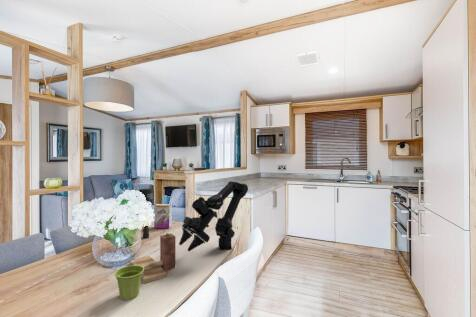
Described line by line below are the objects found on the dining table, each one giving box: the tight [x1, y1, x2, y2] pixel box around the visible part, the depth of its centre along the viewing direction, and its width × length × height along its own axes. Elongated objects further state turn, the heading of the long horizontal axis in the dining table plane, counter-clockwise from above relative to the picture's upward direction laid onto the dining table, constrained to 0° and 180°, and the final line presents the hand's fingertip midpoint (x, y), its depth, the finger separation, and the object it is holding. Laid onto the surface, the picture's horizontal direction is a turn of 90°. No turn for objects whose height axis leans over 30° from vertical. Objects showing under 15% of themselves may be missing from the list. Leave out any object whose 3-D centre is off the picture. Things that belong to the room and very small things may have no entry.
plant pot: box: [114, 265, 144, 301], centre depth 84 cm, size 9×9×9 cm
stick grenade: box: [138, 187, 154, 239], centre depth 146 cm, size 8×9×30 cm
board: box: [129, 255, 168, 284], centre depth 103 cm, size 22×9×2 cm, turn 38°
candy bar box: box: [153, 203, 173, 229], centre depth 168 cm, size 11×5×16 cm, turn 84°
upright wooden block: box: [142, 232, 176, 272], centre depth 103 cm, size 14×5×15 cm, turn 128°
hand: (183, 247), depth 110 cm, fingers open, 9 cm apart
